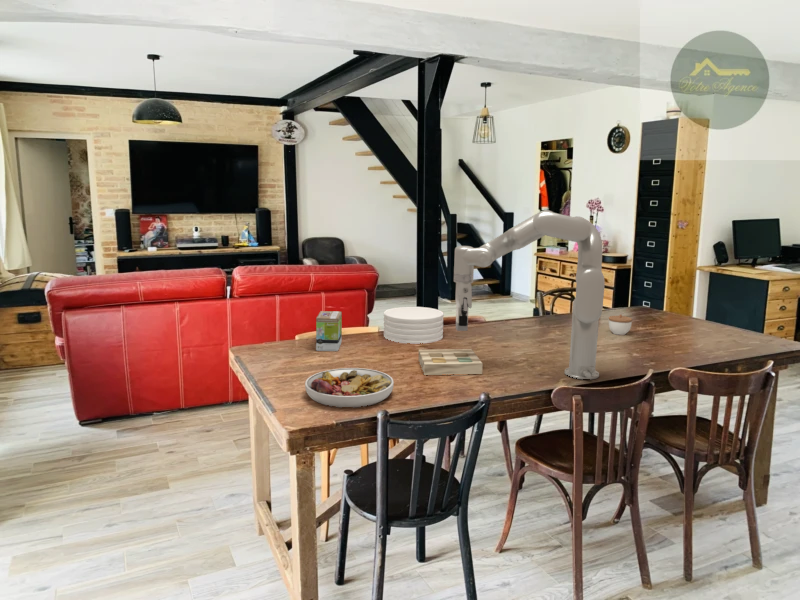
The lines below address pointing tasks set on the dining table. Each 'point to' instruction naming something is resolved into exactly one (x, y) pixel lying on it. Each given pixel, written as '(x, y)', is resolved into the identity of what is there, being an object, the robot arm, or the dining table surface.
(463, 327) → the plug
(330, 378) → the bowl
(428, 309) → the plate stack
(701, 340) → the dining table surface
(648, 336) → the dining table surface
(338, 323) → the tea box
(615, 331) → the lidded jar
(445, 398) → the dining table surface
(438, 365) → the socket block
